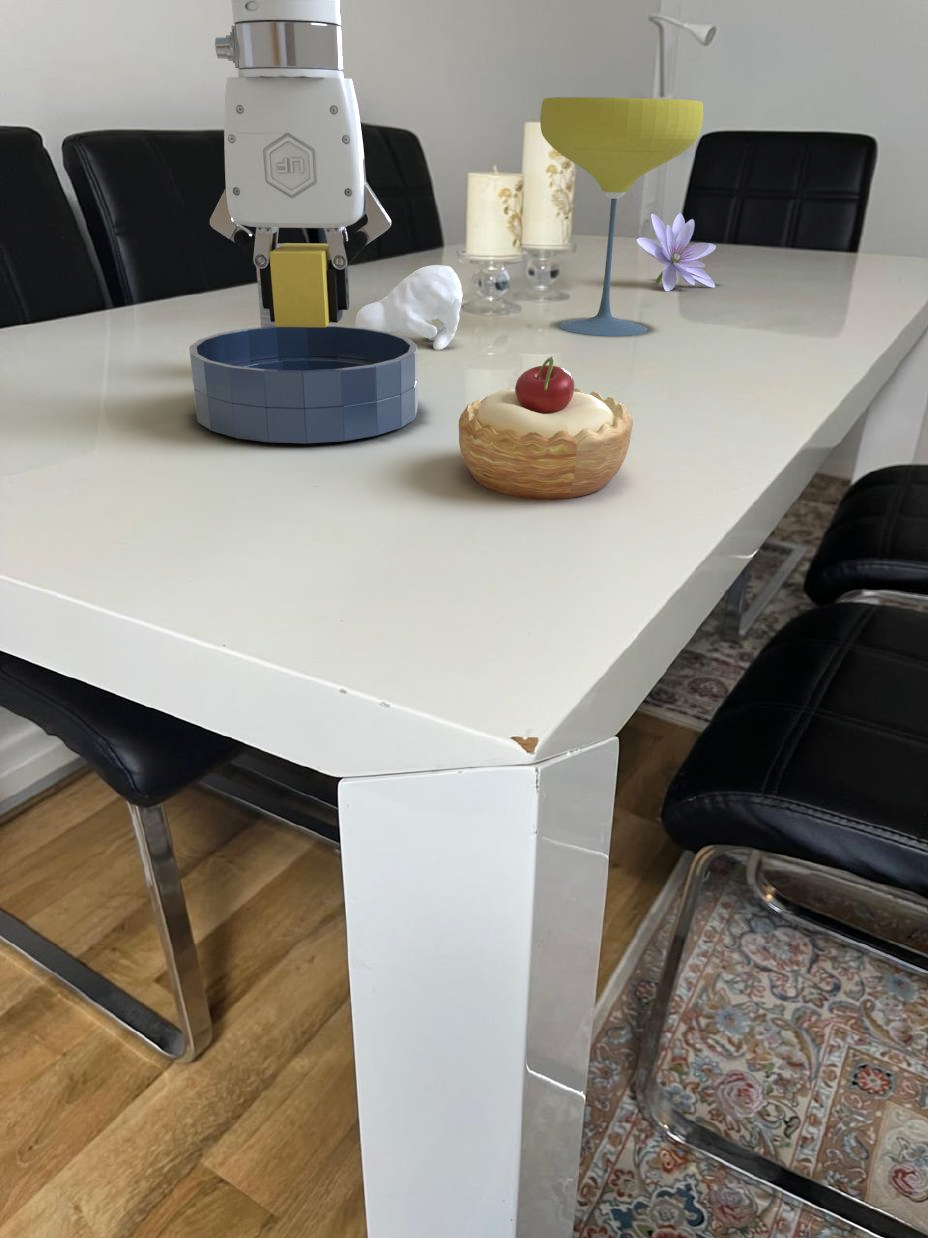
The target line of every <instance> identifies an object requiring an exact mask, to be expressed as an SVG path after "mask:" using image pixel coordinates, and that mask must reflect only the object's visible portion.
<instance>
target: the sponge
mask: <svg viewBox="0 0 928 1238" xmlns="http://www.w3.org/2000/svg"><path fill="white" fill-rule="evenodd" d="M269 255H270V267H271V279H272V292H273V304H274V316H275V327H310V328H326V327H327V326H328V325H330V324H331V321H329V309H328V292H327V271H328V270H329V261H330V260H331V257H330V252H329V248H328V244H327V243H307V242H306V243H303V242H302V243H300V242H299V243H298V242H297V243H296V242H293V243H292V242H290V243H289V242H285V244H283V245H281V246H280V247H278V248H276V249H275V250H273V251H271V252H270V253H269Z"/></svg>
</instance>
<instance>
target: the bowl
mask: <svg viewBox="0 0 928 1238" xmlns="http://www.w3.org/2000/svg"><path fill="white" fill-rule="evenodd" d="M188 352H189V359H190V360H189V361H190V368H191V370H190V371H191V378H192V387H193V396H194V406H195V415H196V420H197V423H199V425H200V424H201V426H203V427H204V428H207V429H208V430H209V431H210V432H211V431H212V432H214V433H217V434H221V435H224V436H228V437H231V438H235V439H240V440H248V441H256V442H262V443H276V444H277V443H278V444H280V443H281V444H319V443H337V442H347V441H353V440H359V439H365V438H371V437H376V436H380V435H383V434H385V433H388V432H392V431H395V430H399V429H401V428H403V427H405V426H406V425H408V424H409V423H411V422H413V421H414V420H415V419H416V416H417V412H418V409H419V408H418V407H419V405H418V404H419V403H418V402H419V401H418V400H419V399H418V396H419V394H418V393H419V391H418V389H419V388H418V387H419V386H418V383H419V381H418V375H419V373H418V365H419V364H418V344H416V343H415V342H414V341H413V340H412V339H411V338H409V337H406V336H403V335H400V334H398V333H397V334H396V333H395V332H386V331H380V330H374V329H369V328H359V327H356V326H347V325H331V324H329V325H328V326H327V327H326V328H310V327H275V326H268V327H261V326H258V327H249V328H241V329H235V330H229V331H224V332H219V333H215V334H212V335H209V336H206V337H203V338H200V339H198V340H196V341H195V342H194V343H192V344H191V345H190V346H189V347H188Z"/></svg>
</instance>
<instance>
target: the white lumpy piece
mask: <svg viewBox="0 0 928 1238" xmlns="http://www.w3.org/2000/svg"><path fill="white" fill-rule="evenodd" d="M463 295H464V294H463V291H462V284H461V281H460V279H459V276H458V275H457V273H456V272H455V271H454V269H453V268H452V267H451V266H449V265H441V264H433V265H427V266H423V267H419V268H418V269H416V270H414V271H413V272H411V274H409V275H408V276H405V278H404V279H402V280H401V281H400V282H399V284H398V285H396V286H395V287H393V288H392V289H391V290H390V291H389V292H388V294H387V295H386V296H383V297H382V298H381V299H380V300H378V301H376V302H371V303H367V304H366V305H363V306H362V307H361V308H359V309H358V311H357V313H356V316H355V321H354V322H355V327H359V328H369V329H374V330H380V331H386V332H391V333H400V334H406V335H409V334H415V335H418V336H420V337H423V338H426V339H428V340H429V341H431V342H433V343H432V347H433V350H438V351H439V350H443V349H445V348H446V347H448V346H449V344H450V343H451V341H452V340H453V339H454V337H455V335H456V332H457V329H458V325H459V322H460V312H461V307H462V301H463ZM436 320H439V321H440V323H441V325H440V326H438V327H436V326H435V325H433V324H432V321H436Z"/></svg>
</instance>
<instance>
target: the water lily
mask: <svg viewBox="0 0 928 1238" xmlns="http://www.w3.org/2000/svg"><path fill="white" fill-rule="evenodd" d="M650 217H651V218H650V219H651V223H652V229H653V232H654V235H655V237H656V239H657V242H658V243H657V242H656V241H654V240H653V239H650V238H649V237H639V238H637V239H636V243H637V244H638V245H639V246H640V248H641V249H642V250H643V251H644V252H645V253H646V254H648V255H650V256H651V257H653V259H656V260H657V261H658V262H659V263H661V264H663V265H664V267H663V269H662V271H661V272H660V273H659V275H658V276H657V278H656V279H655V283H657V284H659V283H660V282H662V283H661V284H662V287H663V289H664V291H665V292H671V291H672V290H673V289H674V288H675V287H676V285H677V282H678V281H677V280H678V276H679V277H680V278H681V279H682V280H683V281H684V282H686V283H687V284H690V285H691V286H695V284H696V282H697V283H699V284H701V285H703V286H706V287H710V288H712V289H713V288H716V285H715V282H714V281H713V279H712V277H710V275H709V274H708V273H707V272H706V271H705V270H704V269H702V268H705V267H706V264H705V263H704V262H702V261H699V259H701V258H704V257H706V256H708V255H710V254H711V253H713V252H714V251H715V250H716V248H717V245H715V244H713V243H710V242H709V243H707V242H698V243H694V244H693V245H692V244H689V243H690V241H691V239H692V236H693V235H694V232H695V225H696V224H695V220H694V219H693V218H691V219H689V220H688V221H686V220H685V218H684V215H683V214H682V213H681V212H680V213H678V214H677V215H676V217H674V220H673V222H672V227H671V226H670V225H669V224H667V225H665V223H664V221H662V219H661V218H660V217H659V216H658V215H656V214H655V213H651V216H650Z"/></svg>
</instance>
